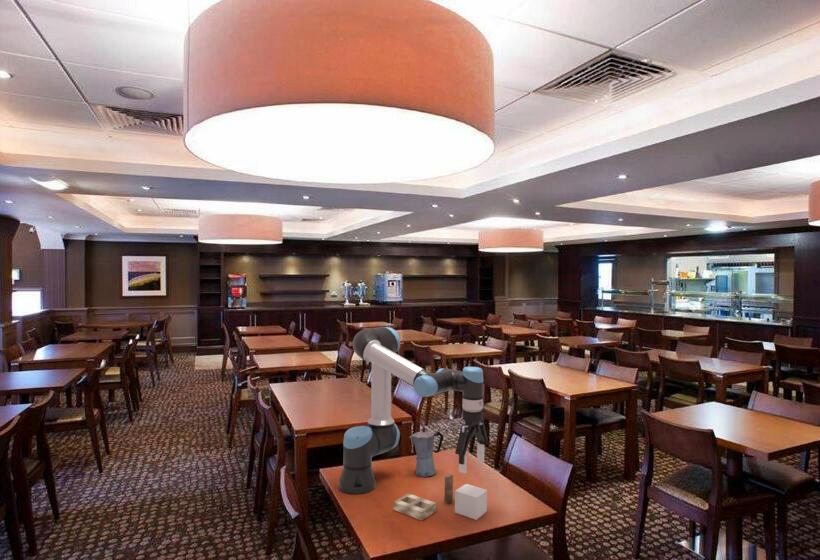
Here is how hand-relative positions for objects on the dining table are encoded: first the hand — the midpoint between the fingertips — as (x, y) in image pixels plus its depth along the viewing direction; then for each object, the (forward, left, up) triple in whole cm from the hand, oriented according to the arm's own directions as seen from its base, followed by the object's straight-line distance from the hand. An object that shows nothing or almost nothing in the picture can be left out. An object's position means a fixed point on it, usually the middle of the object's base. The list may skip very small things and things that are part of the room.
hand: (471, 466), depth 179 cm
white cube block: (0, 0, -17) cm, 17 cm away
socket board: (-17, -12, -17) cm, 27 cm away
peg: (-11, +2, -17) cm, 20 cm away
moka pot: (-34, +19, -17) cm, 42 cm away
